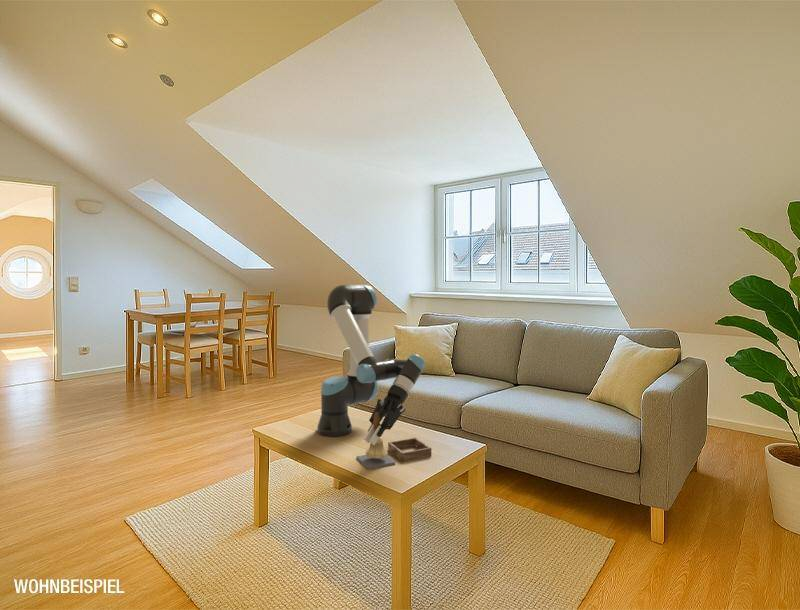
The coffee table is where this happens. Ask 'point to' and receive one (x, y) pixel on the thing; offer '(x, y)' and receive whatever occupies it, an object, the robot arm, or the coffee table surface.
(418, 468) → the coffee table surface
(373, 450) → the hand bell
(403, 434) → the coffee table surface
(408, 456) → the brown wooden square frame
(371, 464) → the grey rubber pad
